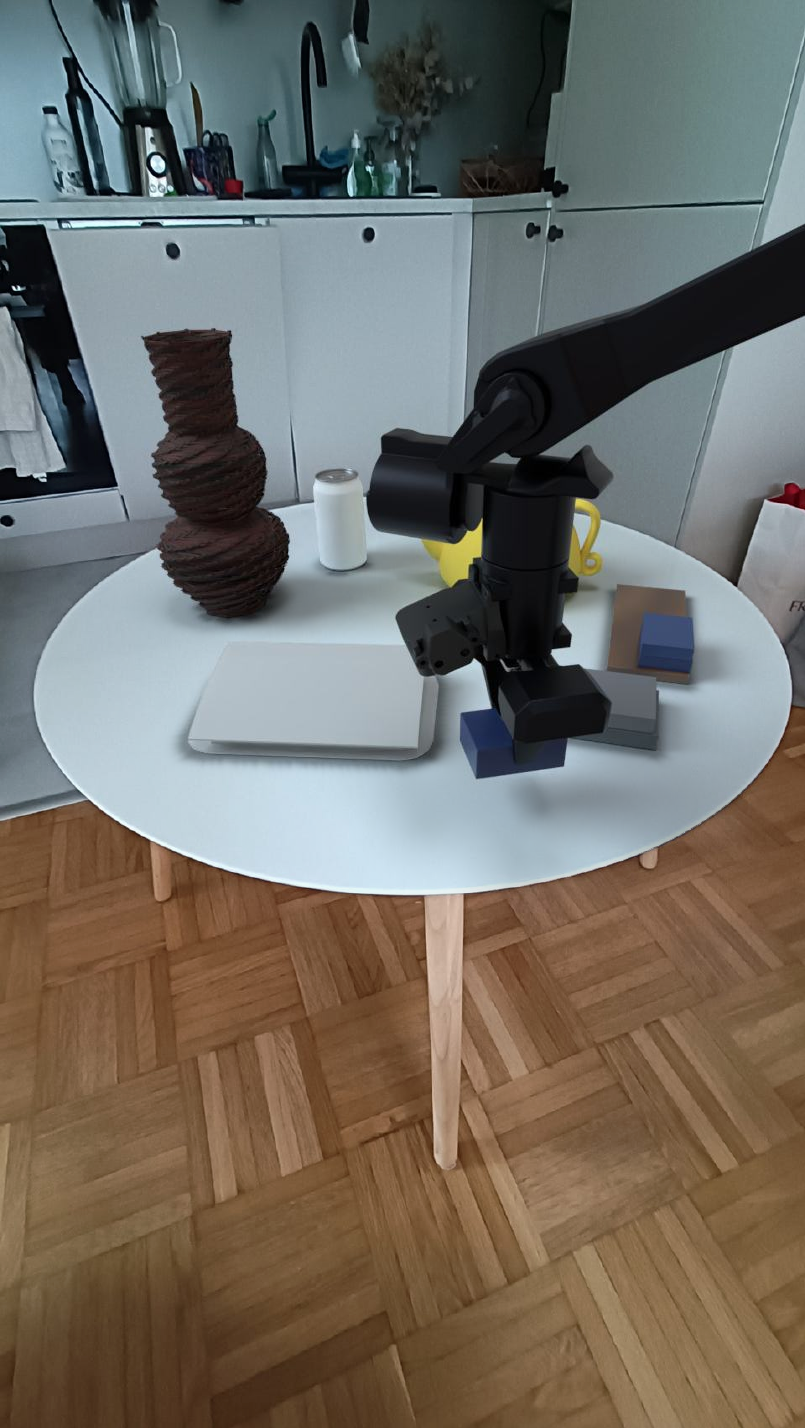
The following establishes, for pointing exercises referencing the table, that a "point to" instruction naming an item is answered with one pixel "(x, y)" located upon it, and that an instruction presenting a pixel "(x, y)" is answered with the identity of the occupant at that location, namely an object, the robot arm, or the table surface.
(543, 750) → the navy block
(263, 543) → the vase
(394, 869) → the table surface
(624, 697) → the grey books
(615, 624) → the board
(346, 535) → the can
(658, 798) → the table surface
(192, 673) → the table surface
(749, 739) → the table surface
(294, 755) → the book
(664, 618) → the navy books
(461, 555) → the teapot
